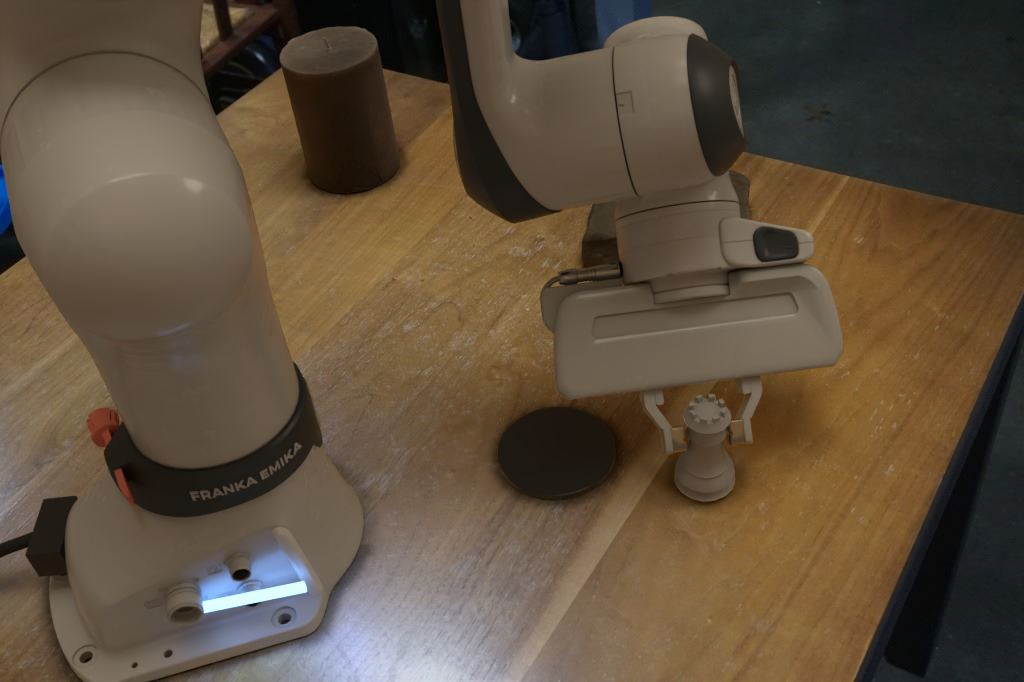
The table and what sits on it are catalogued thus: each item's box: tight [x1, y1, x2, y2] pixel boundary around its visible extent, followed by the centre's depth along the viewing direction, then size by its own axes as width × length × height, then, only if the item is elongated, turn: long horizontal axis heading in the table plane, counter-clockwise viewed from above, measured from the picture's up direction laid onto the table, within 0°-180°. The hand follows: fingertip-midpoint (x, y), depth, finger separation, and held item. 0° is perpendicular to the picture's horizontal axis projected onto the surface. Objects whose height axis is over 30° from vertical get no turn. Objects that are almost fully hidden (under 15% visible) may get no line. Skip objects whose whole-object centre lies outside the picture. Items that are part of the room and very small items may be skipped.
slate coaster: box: [497, 406, 617, 501], centre depth 84 cm, size 9×9×1 cm
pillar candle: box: [279, 26, 401, 194], centre depth 110 cm, size 10×10×15 cm
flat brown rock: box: [581, 169, 753, 278], centre depth 100 cm, size 17×15×4 cm
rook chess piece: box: [673, 393, 736, 503], centre depth 78 cm, size 4×4×8 cm
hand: (707, 448), depth 77 cm, fingers open, 3 cm apart
